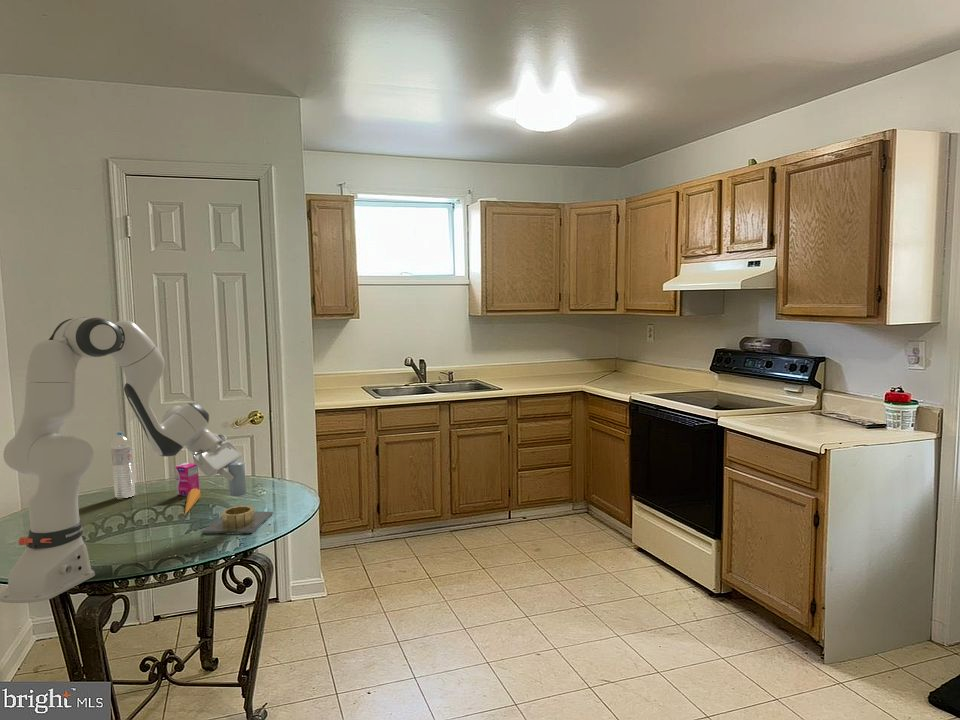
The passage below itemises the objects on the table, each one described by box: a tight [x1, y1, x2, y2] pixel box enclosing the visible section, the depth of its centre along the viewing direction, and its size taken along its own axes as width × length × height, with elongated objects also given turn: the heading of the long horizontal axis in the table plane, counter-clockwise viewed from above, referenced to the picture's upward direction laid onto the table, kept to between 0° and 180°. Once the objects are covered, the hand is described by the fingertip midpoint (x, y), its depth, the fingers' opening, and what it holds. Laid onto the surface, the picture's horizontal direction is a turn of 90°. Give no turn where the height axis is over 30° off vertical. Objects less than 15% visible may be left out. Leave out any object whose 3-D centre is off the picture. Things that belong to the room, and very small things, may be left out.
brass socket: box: [221, 505, 256, 526], centre depth 214 cm, size 10×10×4 cm
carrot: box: [184, 488, 202, 515], centre depth 235 cm, size 20×4×4 cm, turn 13°
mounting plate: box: [201, 511, 274, 534], centre depth 215 cm, size 18×16×1 cm
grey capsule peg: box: [227, 461, 248, 497], centre depth 213 cm, size 5×5×10 cm
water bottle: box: [110, 431, 136, 499], centre depth 247 cm, size 7×7×25 cm
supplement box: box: [174, 462, 200, 497], centre depth 249 cm, size 6×6×12 cm
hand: (237, 476), depth 213 cm, fingers closed on grey capsule peg, 5 cm apart
